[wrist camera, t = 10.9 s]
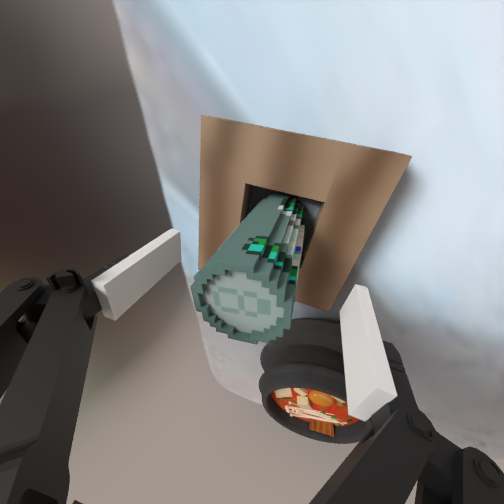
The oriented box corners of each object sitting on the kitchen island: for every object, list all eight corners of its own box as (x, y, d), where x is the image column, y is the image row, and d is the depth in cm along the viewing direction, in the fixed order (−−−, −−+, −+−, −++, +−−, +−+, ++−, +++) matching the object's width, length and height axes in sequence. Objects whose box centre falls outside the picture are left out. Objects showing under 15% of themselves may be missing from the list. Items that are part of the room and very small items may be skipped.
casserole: (358, 412, 39) (366, 472, 32) (264, 386, 44) (254, 433, 37) (396, 321, 27) (423, 386, 20) (260, 299, 32) (244, 346, 25)
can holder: (399, 152, 18) (412, 156, 16) (328, 295, 28) (328, 311, 26) (215, 117, 21) (201, 115, 19) (208, 258, 31) (198, 269, 28)
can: (303, 243, 25) (288, 351, 13) (256, 239, 27) (201, 331, 14) (308, 193, 22) (294, 272, 10) (254, 192, 24) (183, 258, 11)
